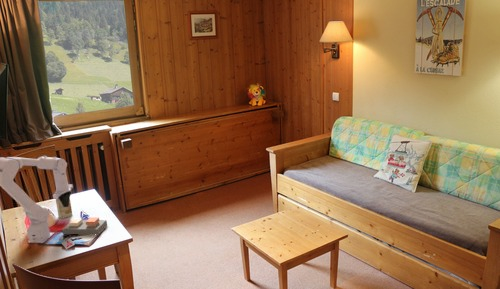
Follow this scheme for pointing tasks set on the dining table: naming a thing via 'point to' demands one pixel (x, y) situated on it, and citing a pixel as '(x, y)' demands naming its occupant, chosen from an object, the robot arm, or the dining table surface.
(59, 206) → the skincare box
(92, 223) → the terracotta plunger
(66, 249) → the dining table surface
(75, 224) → the cream cube block
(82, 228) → the panel
